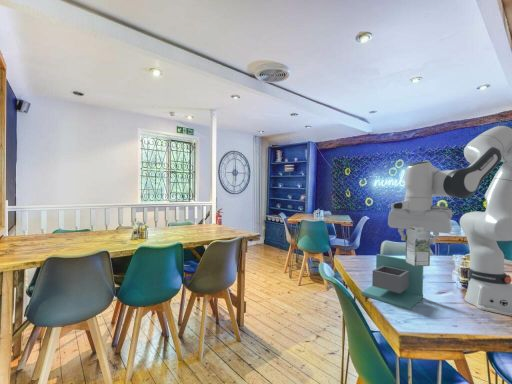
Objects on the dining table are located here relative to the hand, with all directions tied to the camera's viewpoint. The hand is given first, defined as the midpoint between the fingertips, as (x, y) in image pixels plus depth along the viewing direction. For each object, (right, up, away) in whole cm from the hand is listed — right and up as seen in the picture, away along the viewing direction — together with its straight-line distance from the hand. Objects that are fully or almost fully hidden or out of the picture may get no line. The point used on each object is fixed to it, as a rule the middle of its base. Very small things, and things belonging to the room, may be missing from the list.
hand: (417, 242), depth 99 cm
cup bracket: (+1, -28, +21) cm, 36 cm away
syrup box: (0, -8, 0) cm, 8 cm away
